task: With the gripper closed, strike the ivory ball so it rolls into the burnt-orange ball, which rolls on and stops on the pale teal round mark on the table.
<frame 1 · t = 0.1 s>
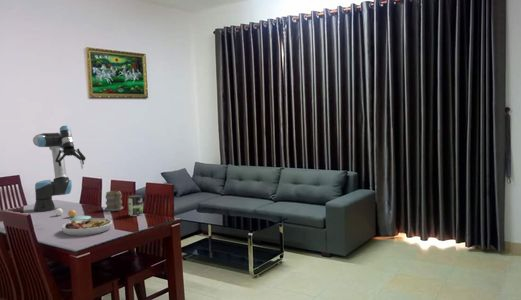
hand: (72, 168, 309), 36 cm above the table, tool tilted 35°, fingers open, 13 cm apart
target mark: (80, 218, 310), on the table
coffee can: (135, 214, 320), on the table
cue ball: (59, 211, 321), on the table
object ball: (72, 213, 314), on the table
tankard: (116, 210, 338), on the table
bowl: (87, 231, 275), on the table
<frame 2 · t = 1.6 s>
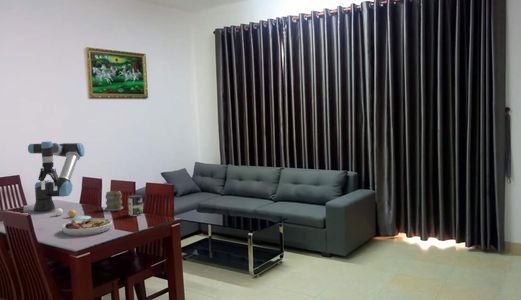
hand: (49, 190, 324), 19 cm above the table, tool pointing down, fingers open, 13 cm apart
nothing on the table moved.
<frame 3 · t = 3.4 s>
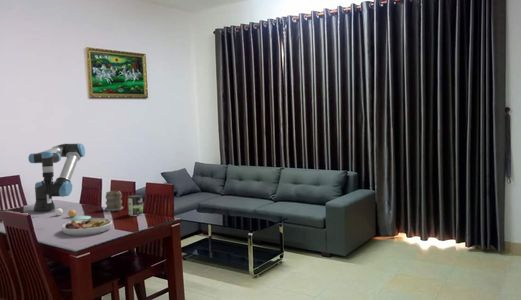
hand: (49, 202, 324), 9 cm above the table, tool pointing down, fingers closed
nothing on the table moved.
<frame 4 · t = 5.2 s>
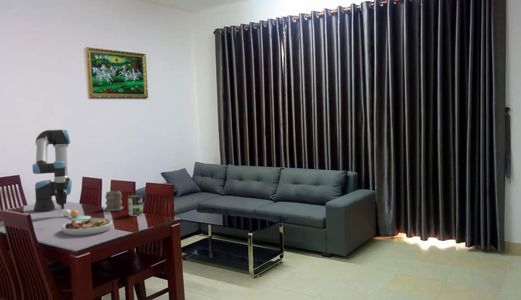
hand: (61, 213, 319), 2 cm above the table, tool pointing down, fingers closed
cue ball: (66, 212, 317), on the table
object ball: (74, 213, 313), on the table
everything else where it was.
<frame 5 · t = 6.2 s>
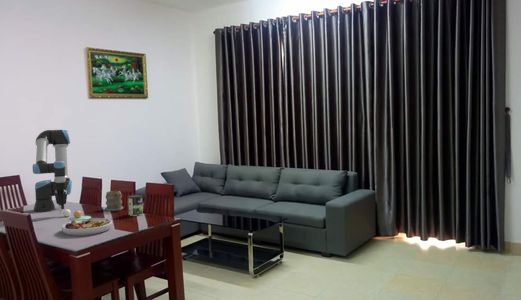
hand: (61, 213, 319), 2 cm above the table, tool pointing down, fingers closed
object ball: (77, 214, 312), on the table
everything else where it was.
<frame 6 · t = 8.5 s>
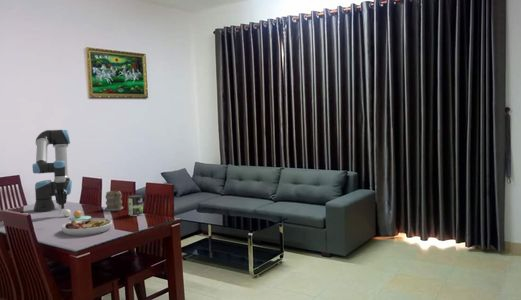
hand: (61, 212, 319), 2 cm above the table, tool pointing down, fingers closed
nothing on the table moved.
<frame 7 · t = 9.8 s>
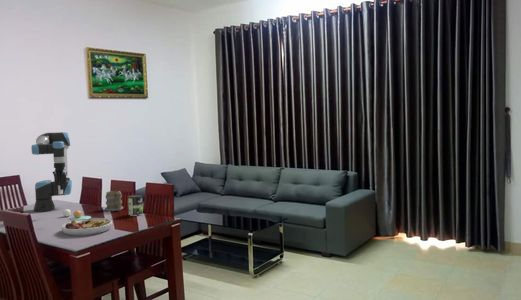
hand: (60, 194, 318), 16 cm above the table, tool pointing down, fingers closed
nothing on the table moved.
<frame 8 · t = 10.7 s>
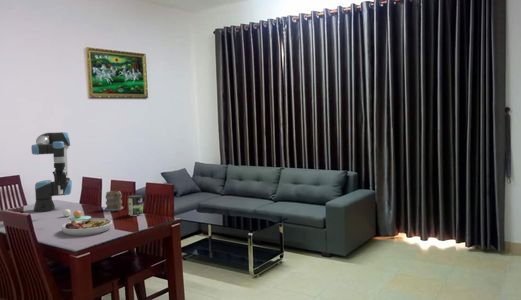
hand: (60, 194, 318), 16 cm above the table, tool pointing down, fingers closed
nothing on the table moved.
at the end: object ball 3.2 cm from the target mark (horizontally); object ball never touched the robot; cue ball first touched object ball at 4.9 s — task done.
